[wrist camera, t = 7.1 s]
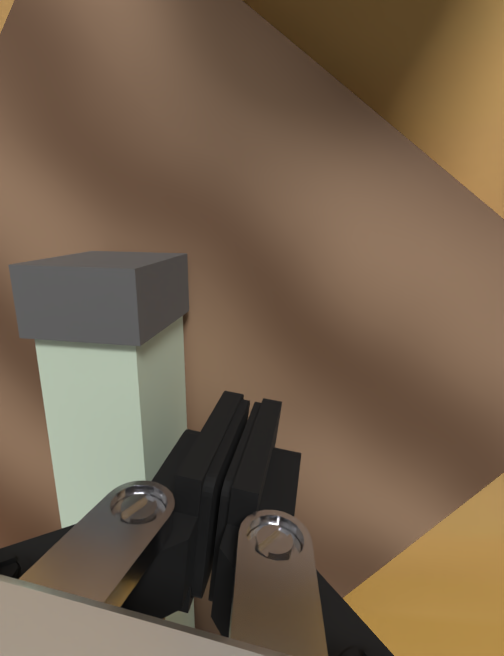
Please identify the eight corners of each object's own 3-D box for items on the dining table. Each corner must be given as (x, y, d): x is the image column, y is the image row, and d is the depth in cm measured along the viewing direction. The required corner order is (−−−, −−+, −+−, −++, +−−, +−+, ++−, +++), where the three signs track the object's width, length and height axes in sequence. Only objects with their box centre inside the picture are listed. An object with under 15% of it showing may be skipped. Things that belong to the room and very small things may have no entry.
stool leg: (201, 679, 15) (171, 794, 12) (132, 665, 16) (86, 772, 13) (187, 253, 11) (134, 268, 8) (92, 250, 12) (8, 264, 8)
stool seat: (124, -69, 12) (-36, -295, 6) (596, 324, 12) (794, 405, 7) (-118, 431, 19) (-289, 516, 13) (191, 666, 19) (142, 834, 14)
